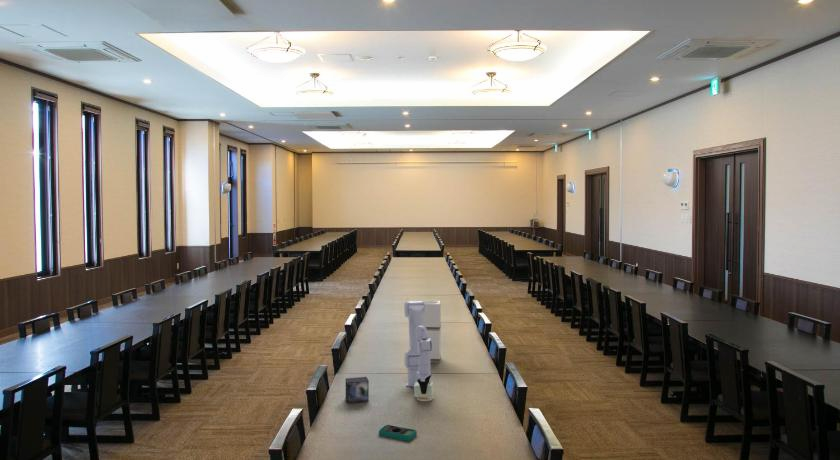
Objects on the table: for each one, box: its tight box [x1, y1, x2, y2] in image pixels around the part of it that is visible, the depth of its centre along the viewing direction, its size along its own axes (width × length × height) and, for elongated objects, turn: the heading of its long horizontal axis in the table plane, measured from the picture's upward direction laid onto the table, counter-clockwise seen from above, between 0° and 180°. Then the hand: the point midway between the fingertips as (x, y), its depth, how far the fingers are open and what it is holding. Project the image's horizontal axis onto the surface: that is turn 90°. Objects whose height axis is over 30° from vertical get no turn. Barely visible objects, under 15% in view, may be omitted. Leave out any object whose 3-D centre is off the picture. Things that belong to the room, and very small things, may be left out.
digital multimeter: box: [378, 424, 418, 442], centre depth 235 cm, size 7×15×3 cm, turn 64°
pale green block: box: [413, 381, 434, 398], centre depth 278 cm, size 6×8×6 cm
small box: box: [344, 376, 370, 404], centre depth 275 cm, size 11×6×10 cm, turn 105°
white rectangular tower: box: [422, 300, 442, 364], centre depth 343 cm, size 11×11×35 cm
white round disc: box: [415, 396, 434, 402], centre depth 278 cm, size 8×8×1 cm
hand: (424, 391), depth 277 cm, fingers closed on pale green block, 6 cm apart
